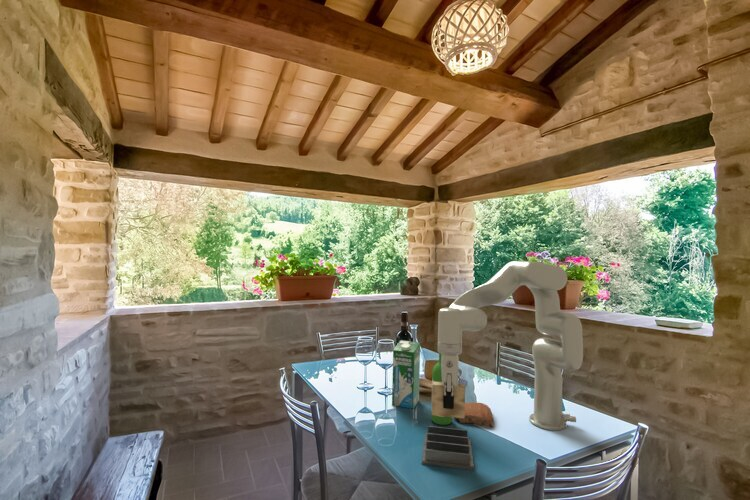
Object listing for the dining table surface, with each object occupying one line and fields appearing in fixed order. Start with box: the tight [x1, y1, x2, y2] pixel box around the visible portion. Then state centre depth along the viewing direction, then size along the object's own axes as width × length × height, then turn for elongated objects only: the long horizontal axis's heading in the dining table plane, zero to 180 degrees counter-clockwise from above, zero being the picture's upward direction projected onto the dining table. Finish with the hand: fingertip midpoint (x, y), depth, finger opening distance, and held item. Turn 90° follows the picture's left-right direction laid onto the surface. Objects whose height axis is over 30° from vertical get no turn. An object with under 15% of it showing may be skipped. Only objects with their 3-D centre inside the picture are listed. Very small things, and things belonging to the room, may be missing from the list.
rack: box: [421, 425, 475, 471], centre depth 119 cm, size 15×17×4 cm
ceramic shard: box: [453, 402, 494, 428], centre depth 145 cm, size 15×6×15 cm
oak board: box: [431, 381, 466, 419], centre depth 119 cm, size 10×3×10 cm, turn 79°
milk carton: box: [391, 339, 421, 410], centre depth 157 cm, size 9×9×25 cm
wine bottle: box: [430, 352, 453, 426], centre depth 141 cm, size 8×8×30 cm
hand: (448, 405), depth 119 cm, fingers closed on oak board, 3 cm apart
